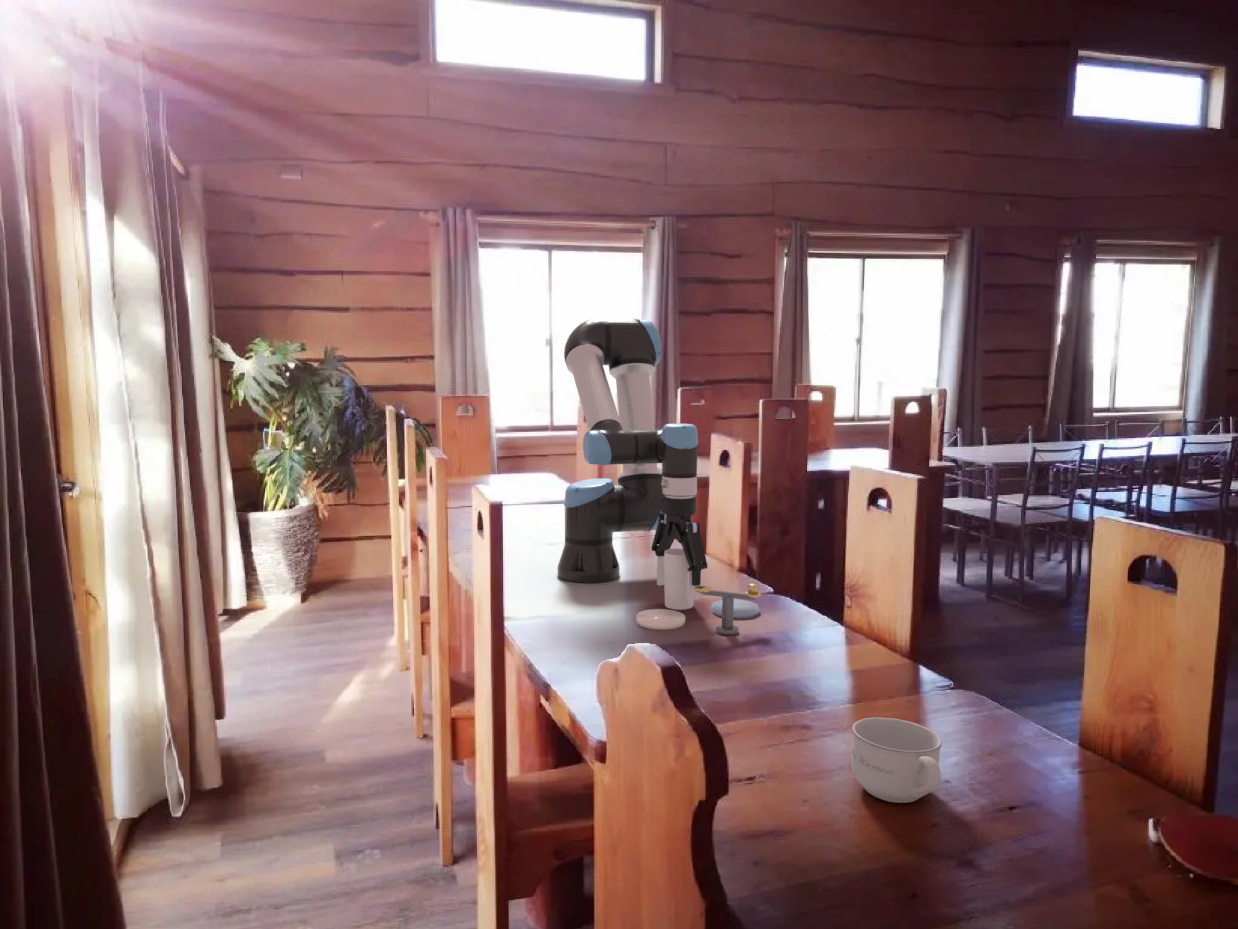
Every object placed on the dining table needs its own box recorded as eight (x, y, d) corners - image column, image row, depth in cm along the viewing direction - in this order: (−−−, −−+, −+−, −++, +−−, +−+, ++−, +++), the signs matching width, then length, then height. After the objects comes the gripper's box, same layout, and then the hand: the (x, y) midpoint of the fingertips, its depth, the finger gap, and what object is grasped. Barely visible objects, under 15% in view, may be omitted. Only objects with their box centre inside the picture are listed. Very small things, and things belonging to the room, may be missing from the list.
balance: (689, 633, 174) (690, 586, 173) (752, 624, 181) (753, 578, 179) (700, 640, 170) (701, 592, 169) (764, 630, 177) (766, 583, 175)
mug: (698, 609, 190) (699, 554, 188) (667, 611, 189) (668, 556, 187) (686, 596, 200) (687, 544, 198) (657, 598, 199) (657, 545, 197)
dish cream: (627, 618, 184) (627, 612, 184) (670, 612, 188) (670, 606, 188) (650, 632, 175) (650, 626, 175) (694, 625, 179) (694, 620, 179)
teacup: (838, 772, 118) (840, 715, 117) (917, 769, 119) (920, 712, 118) (876, 829, 104) (880, 764, 103) (965, 825, 105) (970, 761, 104)
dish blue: (702, 607, 191) (702, 602, 191) (741, 602, 196) (742, 597, 196) (727, 620, 182) (728, 615, 182) (768, 614, 187) (768, 609, 187)
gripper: (637, 488, 201) (636, 580, 203) (693, 506, 178) (691, 608, 181) (666, 486, 204) (665, 577, 207) (725, 503, 182) (723, 604, 184)
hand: (677, 592), depth 194 cm, fingers open, 13 cm apart
